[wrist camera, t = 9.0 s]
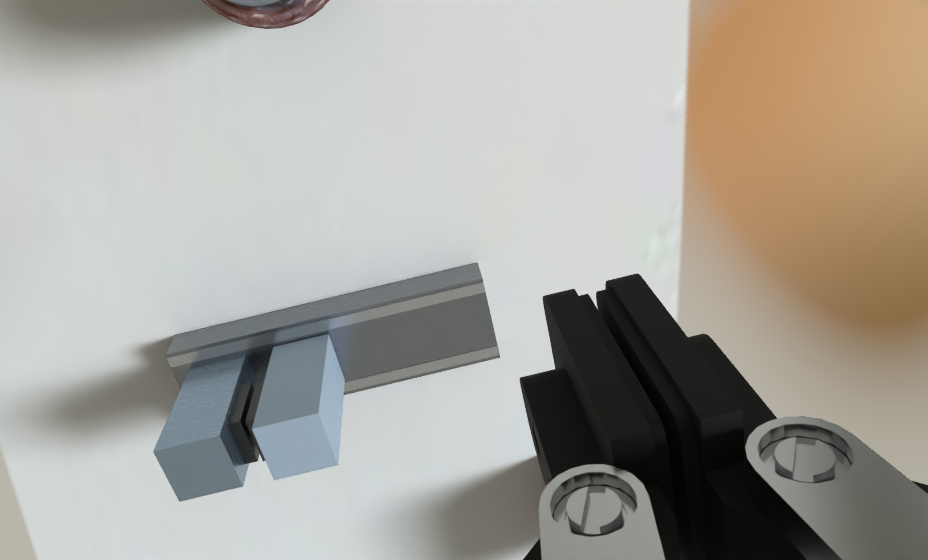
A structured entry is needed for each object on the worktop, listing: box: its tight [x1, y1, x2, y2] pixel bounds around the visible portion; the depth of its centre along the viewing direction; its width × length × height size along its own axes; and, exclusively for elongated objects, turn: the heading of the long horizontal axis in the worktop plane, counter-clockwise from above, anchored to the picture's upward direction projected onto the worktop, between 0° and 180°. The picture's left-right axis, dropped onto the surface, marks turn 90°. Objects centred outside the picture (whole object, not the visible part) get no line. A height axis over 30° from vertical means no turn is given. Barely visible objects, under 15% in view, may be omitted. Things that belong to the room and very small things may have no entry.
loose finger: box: [246, 334, 345, 480], centre depth 35 cm, size 3×4×7 cm
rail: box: [153, 263, 500, 502], centre depth 36 cm, size 5×17×9 cm, turn 102°
